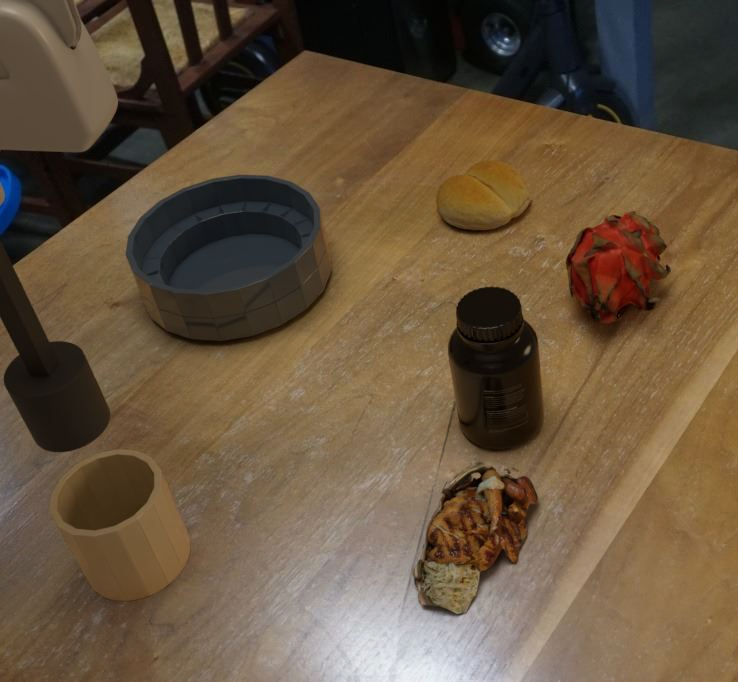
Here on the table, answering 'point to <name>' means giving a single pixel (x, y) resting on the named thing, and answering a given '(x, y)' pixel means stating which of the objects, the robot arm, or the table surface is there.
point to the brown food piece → (471, 534)
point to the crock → (121, 524)
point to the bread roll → (483, 196)
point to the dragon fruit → (616, 266)
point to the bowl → (230, 257)
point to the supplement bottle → (495, 369)
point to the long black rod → (48, 376)
